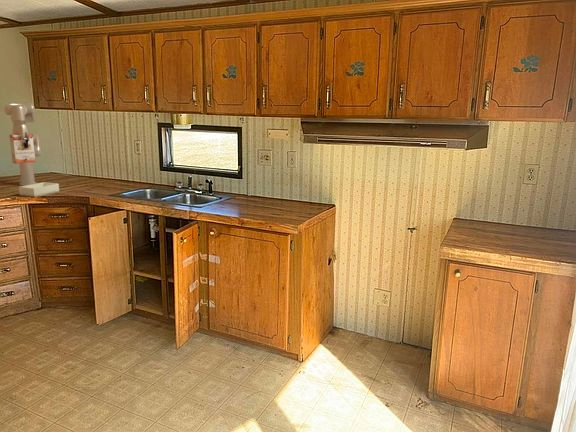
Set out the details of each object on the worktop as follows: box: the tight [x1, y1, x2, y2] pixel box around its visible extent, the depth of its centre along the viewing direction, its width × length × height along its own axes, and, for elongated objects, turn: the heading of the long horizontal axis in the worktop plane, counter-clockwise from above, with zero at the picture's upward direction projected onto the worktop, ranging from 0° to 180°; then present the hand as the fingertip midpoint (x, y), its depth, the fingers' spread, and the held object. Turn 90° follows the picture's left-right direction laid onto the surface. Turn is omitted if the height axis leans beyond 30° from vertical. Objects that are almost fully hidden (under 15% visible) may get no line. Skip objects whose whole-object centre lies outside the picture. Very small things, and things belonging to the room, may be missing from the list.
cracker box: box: [8, 133, 36, 165], centre depth 318 cm, size 14×6×21 cm, turn 146°
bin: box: [18, 181, 60, 198], centre depth 319 cm, size 14×22×6 cm, turn 162°
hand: (22, 147), depth 318 cm, fingers closed on cracker box, 7 cm apart
